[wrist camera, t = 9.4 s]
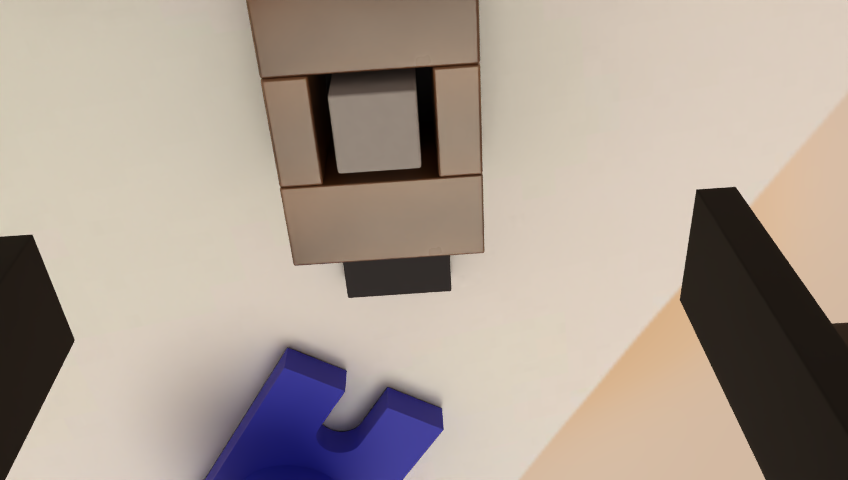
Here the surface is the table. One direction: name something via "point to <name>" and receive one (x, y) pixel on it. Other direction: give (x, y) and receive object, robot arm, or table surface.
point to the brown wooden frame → (313, 139)
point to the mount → (324, 430)
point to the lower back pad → (403, 266)
